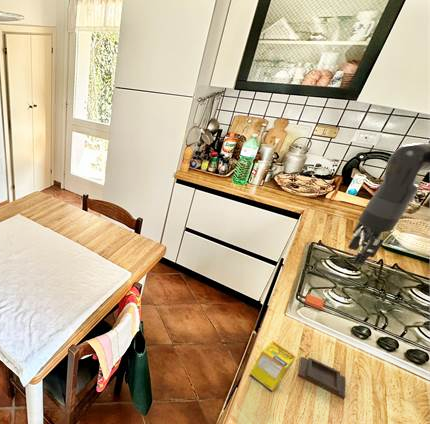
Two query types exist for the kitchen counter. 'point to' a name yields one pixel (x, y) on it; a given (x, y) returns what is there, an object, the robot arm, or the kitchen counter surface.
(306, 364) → the back plate
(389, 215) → the robot arm
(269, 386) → the supplement box
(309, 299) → the orange-red small block
